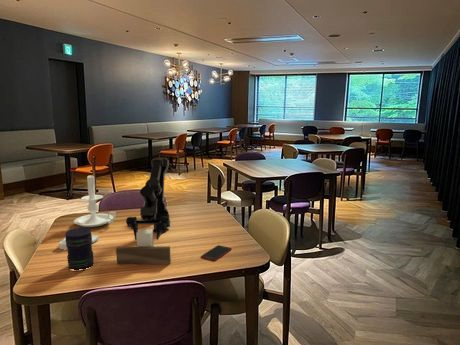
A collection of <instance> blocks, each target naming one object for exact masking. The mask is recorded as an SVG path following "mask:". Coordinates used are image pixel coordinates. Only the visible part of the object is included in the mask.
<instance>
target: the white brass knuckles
mask: <svg viewBox="0 0 460 345" xmlns="http://www.w3.org/2000/svg"><path fill="white" fill-rule="evenodd" d="M91 235H92V244H94V243H95V242H97V241H99V240H100V237H99V235H96V234H93V233H91ZM58 247H59V248H60V249H67V247H66V236H65V237H64V238H63V240H61V241H59V242H58ZM59 248H58V249H59ZM60 249H59V250H60Z"/></svg>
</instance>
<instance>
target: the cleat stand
mask: <svg viewBox="0 0 460 345" xmlns="http://www.w3.org/2000/svg"><path fill="white" fill-rule="evenodd" d="M115 254H116V255H115V256H116V265H117V264H137V265H170V264H171V262H172V260H171V259H172V258H171V246H169V245H168V246H167V245H166V246H162V245H161V246H154V247H137V246H117V247H116V248H115Z"/></svg>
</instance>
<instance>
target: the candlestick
mask: <svg viewBox="0 0 460 345" xmlns="http://www.w3.org/2000/svg"><path fill="white" fill-rule="evenodd" d="M86 179H87V180H86V181H87V193H88V195H85V196H82V197H80V200H82V201H88V202H89V203H88V205H87V211H88V212H89V213H90V214H85V215H82V216H80V217H79V216H78V217H77V218H75V219H74V220H73V223H74V224H75V225H77V226H80V227H82V228H97V227H101V226H104V225H105V224H106V225H107V224H113V223H114V220H115V218H116V217H117V216H116V213H117V212H116V211H109V212H108V213H97V212H98V211H99V209H100V208H99V205H98V203H97V200H100V199H103V198H104V195H102V194H96V191H95V190H96V189H95V188H96V183H95V180H96V179H95V176H94V175H90V174H89V175H88V176H87V177H86Z"/></svg>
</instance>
